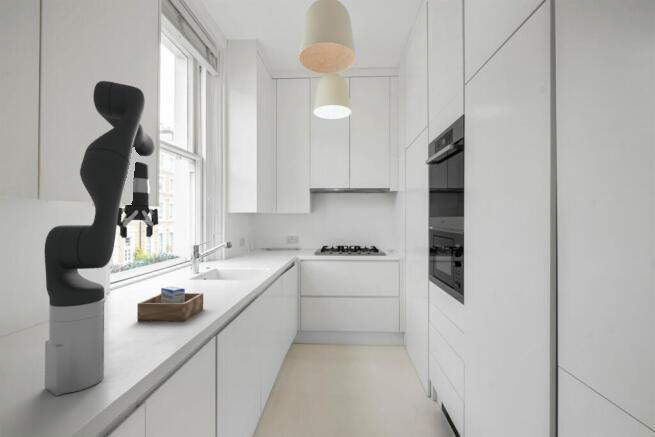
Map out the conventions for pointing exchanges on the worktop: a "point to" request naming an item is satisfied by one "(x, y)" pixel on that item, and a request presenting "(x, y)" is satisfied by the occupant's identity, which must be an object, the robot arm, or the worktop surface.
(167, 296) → the medicine box
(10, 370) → the worktop surface
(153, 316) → the storage box
